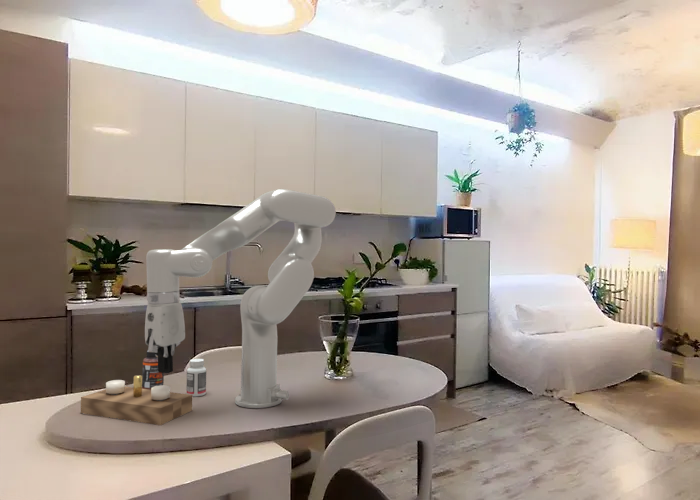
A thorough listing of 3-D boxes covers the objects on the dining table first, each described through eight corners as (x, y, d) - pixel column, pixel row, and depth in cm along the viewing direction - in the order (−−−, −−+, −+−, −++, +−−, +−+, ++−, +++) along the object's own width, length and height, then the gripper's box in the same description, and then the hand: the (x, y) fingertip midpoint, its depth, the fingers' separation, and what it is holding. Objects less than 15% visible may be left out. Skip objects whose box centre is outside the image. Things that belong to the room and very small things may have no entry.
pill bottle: (205, 391, 148) (205, 357, 149) (206, 396, 143) (207, 361, 143) (185, 392, 147) (186, 358, 147) (186, 397, 142) (187, 362, 142)
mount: (192, 410, 130) (192, 394, 130) (160, 425, 119) (161, 408, 119) (116, 400, 138) (117, 385, 138) (80, 413, 126) (81, 397, 126)
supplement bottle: (149, 392, 146) (149, 353, 146) (137, 389, 149) (138, 350, 149) (167, 388, 150) (168, 350, 150) (156, 385, 154) (157, 347, 154)
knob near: (173, 411, 127) (173, 386, 127) (161, 416, 123) (162, 390, 123) (158, 409, 129) (159, 384, 129) (146, 414, 125) (147, 388, 125)
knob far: (128, 404, 132) (128, 380, 132) (115, 409, 128) (116, 384, 128) (114, 402, 133) (115, 379, 133) (101, 407, 129) (102, 383, 129)
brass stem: (143, 395, 129) (143, 375, 129) (137, 397, 127) (138, 377, 127) (137, 394, 130) (137, 374, 130) (131, 396, 128) (131, 376, 128)
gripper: (155, 302, 118) (157, 381, 118) (194, 295, 132) (196, 366, 133) (129, 302, 120) (131, 379, 121) (170, 295, 135) (172, 364, 135)
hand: (165, 372), depth 127 cm, fingers closed
